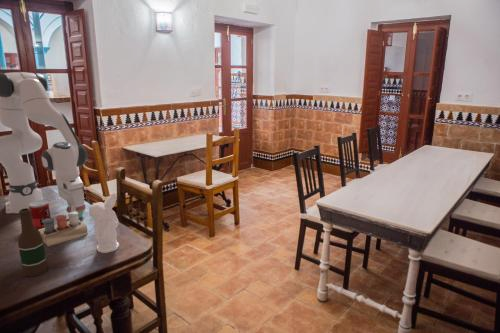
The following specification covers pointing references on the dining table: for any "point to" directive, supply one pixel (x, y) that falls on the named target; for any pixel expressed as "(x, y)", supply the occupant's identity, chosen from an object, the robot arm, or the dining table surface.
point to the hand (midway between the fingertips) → (72, 210)
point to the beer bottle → (31, 246)
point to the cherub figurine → (105, 224)
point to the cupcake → (78, 210)
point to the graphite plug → (49, 225)
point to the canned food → (39, 212)
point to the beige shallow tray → (63, 234)
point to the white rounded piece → (73, 219)
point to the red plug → (61, 222)
